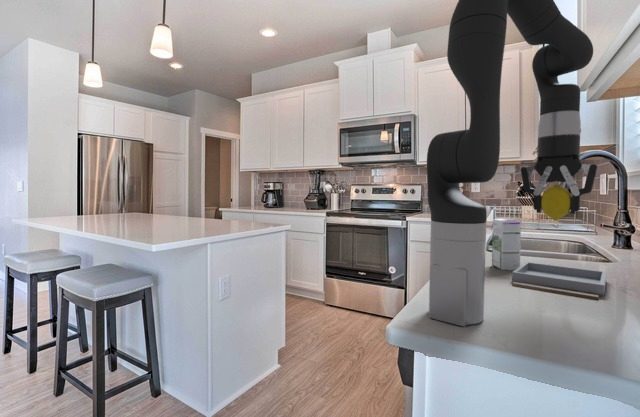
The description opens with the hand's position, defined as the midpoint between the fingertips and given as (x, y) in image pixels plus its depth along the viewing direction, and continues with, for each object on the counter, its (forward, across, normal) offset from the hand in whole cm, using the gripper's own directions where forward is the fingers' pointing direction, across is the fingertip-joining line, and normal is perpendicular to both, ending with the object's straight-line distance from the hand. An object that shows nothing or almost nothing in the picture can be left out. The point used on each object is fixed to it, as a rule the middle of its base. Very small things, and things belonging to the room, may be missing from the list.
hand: (555, 212), depth 74 cm
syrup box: (+18, -14, +20) cm, 31 cm away
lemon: (+2, 0, 0) cm, 2 cm away
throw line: (+18, 0, +1) cm, 18 cm away
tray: (+18, 0, +12) cm, 22 cm away
